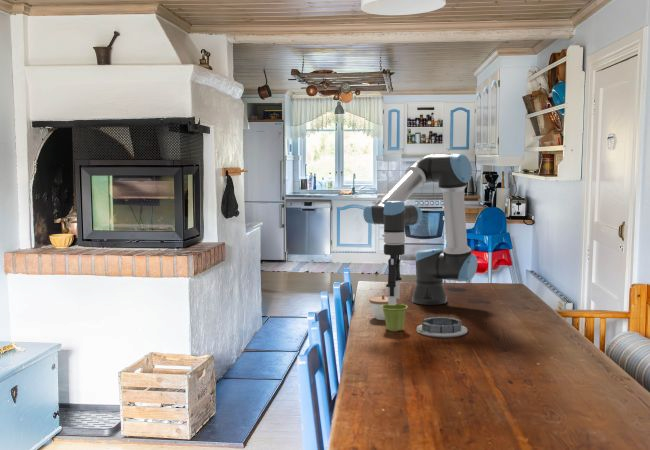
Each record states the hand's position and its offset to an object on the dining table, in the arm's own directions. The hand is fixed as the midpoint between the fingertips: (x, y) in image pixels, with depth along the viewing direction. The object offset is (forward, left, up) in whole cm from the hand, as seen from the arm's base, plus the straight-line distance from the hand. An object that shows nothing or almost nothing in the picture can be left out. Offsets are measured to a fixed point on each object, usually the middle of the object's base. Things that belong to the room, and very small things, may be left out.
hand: (394, 301), depth 245 cm
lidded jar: (-8, -17, -11) cm, 22 cm away
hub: (-12, +12, -10) cm, 20 cm away
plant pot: (0, 0, -11) cm, 11 cm away
